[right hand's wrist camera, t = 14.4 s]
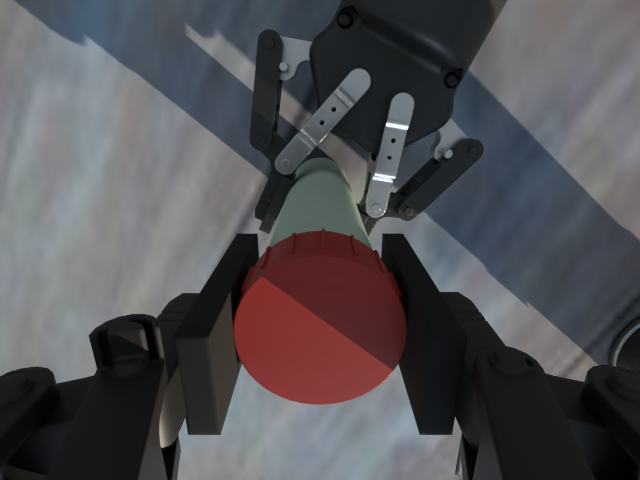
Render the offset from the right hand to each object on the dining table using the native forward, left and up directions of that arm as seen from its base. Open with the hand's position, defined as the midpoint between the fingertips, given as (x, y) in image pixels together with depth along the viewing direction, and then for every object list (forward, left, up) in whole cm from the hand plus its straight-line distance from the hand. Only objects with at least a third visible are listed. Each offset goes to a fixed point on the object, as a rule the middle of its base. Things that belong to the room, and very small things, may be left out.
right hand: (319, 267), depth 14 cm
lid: (0, 0, +4) cm, 4 cm away
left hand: (-1, -3, -9) cm, 10 cm away
